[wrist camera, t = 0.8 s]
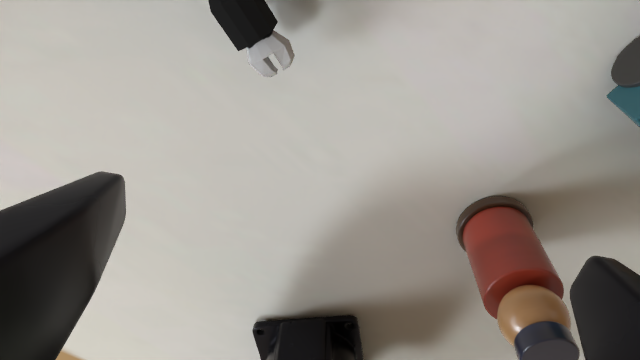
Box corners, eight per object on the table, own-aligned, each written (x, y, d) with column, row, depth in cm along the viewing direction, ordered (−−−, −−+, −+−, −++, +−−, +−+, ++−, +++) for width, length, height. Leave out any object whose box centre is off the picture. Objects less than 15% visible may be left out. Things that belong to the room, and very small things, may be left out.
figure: (526, 250, 26) (594, 386, 19) (455, 255, 27) (496, 391, 20) (532, 192, 24) (610, 320, 17) (455, 199, 25) (501, 327, 18)
